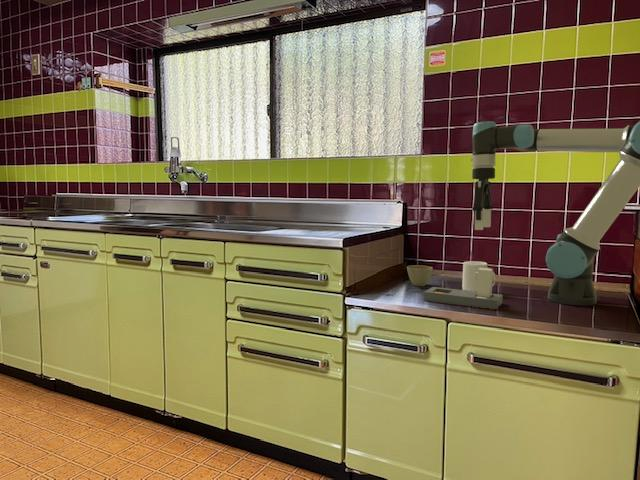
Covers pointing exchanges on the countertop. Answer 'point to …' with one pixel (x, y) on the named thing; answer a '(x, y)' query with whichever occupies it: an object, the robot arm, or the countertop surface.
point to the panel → (462, 298)
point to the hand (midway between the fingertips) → (482, 228)
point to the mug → (472, 275)
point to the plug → (484, 282)
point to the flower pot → (419, 274)
